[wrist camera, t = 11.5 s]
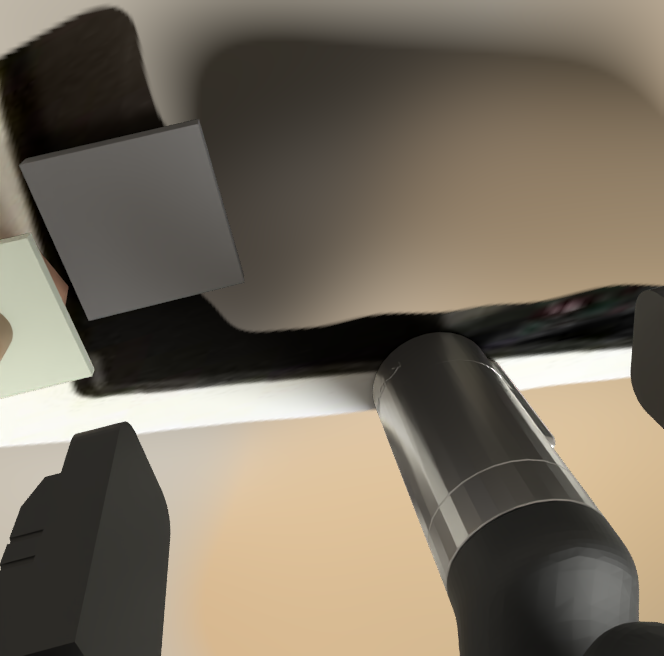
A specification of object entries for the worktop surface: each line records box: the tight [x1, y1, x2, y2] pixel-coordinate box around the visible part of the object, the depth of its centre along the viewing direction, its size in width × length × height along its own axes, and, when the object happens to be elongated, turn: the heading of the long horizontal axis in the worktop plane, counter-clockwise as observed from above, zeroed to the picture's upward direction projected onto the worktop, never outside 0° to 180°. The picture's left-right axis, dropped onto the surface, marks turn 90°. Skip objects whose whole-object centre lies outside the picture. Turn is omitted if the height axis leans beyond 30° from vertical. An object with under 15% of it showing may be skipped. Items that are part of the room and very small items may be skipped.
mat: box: [19, 119, 244, 321], centre depth 37 cm, size 10×10×2 cm
